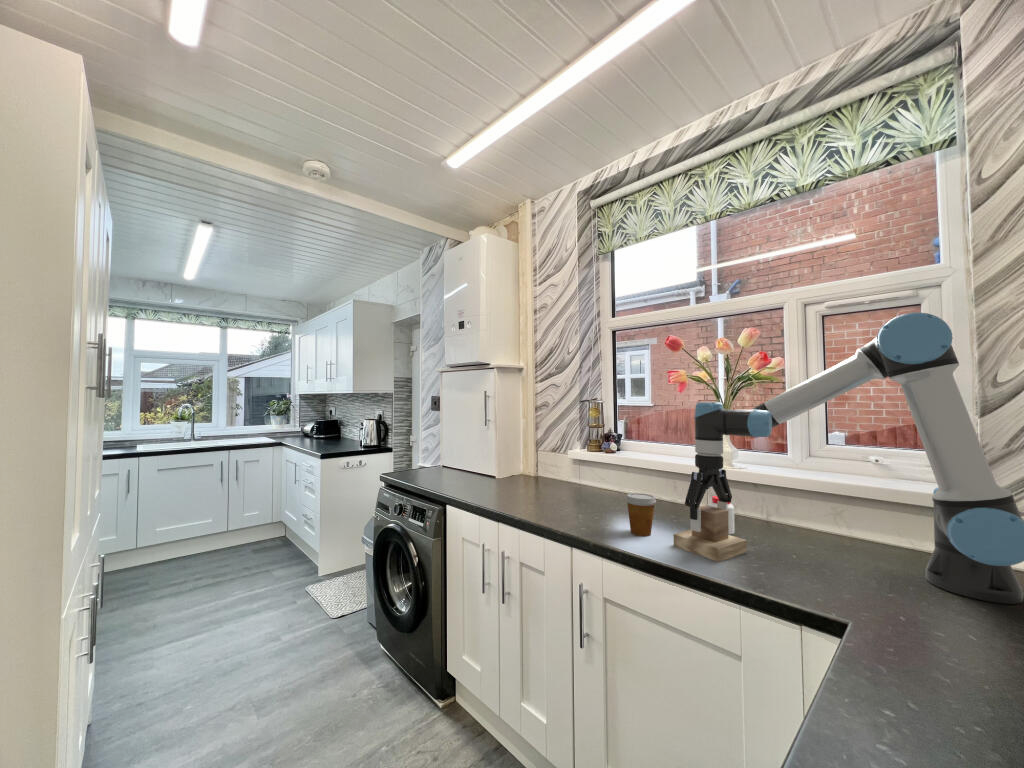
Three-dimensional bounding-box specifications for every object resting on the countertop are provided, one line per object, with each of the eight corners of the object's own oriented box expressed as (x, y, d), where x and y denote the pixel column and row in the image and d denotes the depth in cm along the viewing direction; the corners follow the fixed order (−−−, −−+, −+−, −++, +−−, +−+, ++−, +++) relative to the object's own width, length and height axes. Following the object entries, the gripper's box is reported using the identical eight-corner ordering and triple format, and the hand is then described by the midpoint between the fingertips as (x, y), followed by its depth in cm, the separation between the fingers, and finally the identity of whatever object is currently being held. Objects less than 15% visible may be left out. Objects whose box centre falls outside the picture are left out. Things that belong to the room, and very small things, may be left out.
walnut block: (728, 538, 118) (728, 510, 119) (714, 542, 114) (714, 513, 115) (705, 531, 124) (705, 505, 124) (692, 535, 120) (691, 508, 121)
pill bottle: (732, 536, 131) (731, 501, 132) (706, 531, 136) (706, 497, 136) (736, 530, 137) (735, 497, 138) (711, 525, 142) (711, 494, 143)
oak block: (746, 554, 117) (746, 540, 117) (719, 563, 109) (718, 548, 110) (701, 539, 129) (701, 527, 129) (673, 547, 121) (673, 534, 121)
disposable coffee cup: (652, 529, 137) (652, 493, 138) (659, 538, 127) (659, 499, 128) (623, 528, 138) (623, 492, 138) (628, 537, 128) (628, 498, 129)
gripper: (720, 450, 130) (720, 518, 129) (671, 455, 117) (671, 530, 116) (744, 453, 124) (745, 524, 123) (695, 458, 110) (695, 537, 110)
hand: (709, 527), depth 119 cm, fingers open, 13 cm apart
